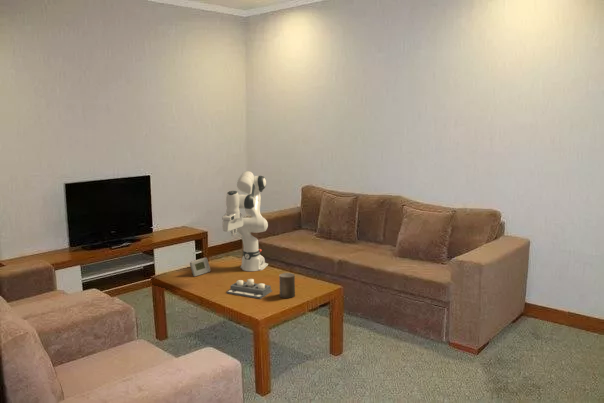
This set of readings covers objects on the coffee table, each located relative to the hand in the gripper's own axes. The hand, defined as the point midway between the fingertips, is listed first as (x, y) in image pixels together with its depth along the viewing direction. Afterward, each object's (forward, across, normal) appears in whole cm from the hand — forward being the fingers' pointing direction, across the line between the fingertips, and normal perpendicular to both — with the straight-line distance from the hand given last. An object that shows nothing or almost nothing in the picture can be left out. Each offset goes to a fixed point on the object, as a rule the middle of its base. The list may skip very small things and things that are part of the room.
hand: (233, 235), depth 328 cm
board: (+33, +12, +19) cm, 40 cm away
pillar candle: (+33, +8, +44) cm, 56 cm away
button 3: (+32, +11, +27) cm, 43 cm away
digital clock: (+33, -6, -34) cm, 48 cm away
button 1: (+31, +11, +11) cm, 35 cm away
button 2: (+30, +11, +19) cm, 37 cm away
